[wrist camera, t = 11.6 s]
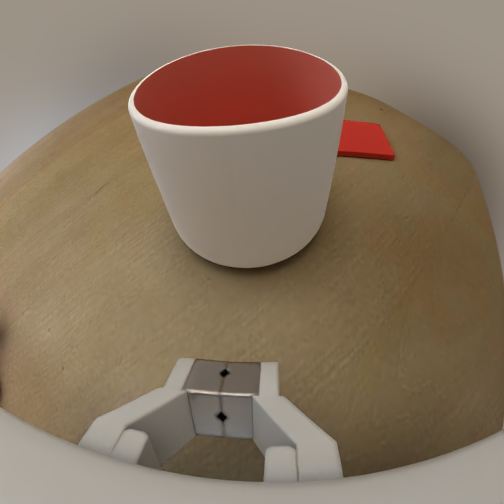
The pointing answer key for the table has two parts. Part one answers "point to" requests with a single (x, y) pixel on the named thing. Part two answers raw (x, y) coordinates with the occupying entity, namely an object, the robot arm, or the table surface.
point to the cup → (242, 148)
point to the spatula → (364, 141)
